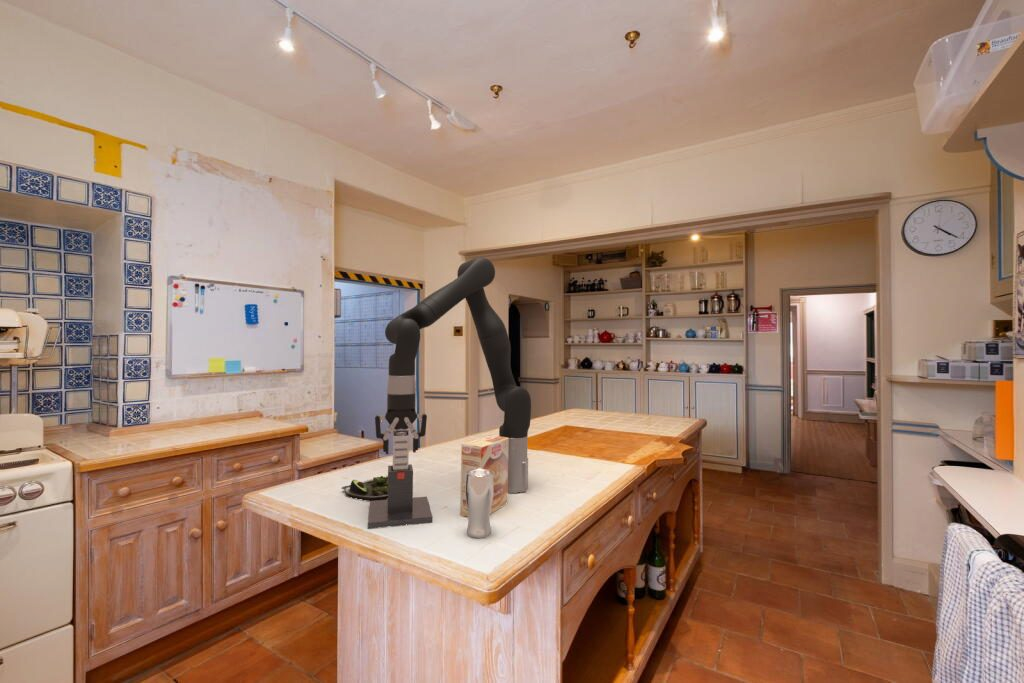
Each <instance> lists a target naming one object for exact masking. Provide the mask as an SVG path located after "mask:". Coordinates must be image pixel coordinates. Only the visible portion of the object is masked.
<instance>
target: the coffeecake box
mask: <svg viewBox="0 0 1024 683" xmlns="http://www.w3.org/2000/svg"><path fill="white" fill-rule="evenodd" d="M508 448H509V438H507V437H501V436H498V435H492V434H489V435H487V436H483V437H479V438H477V439H474V440H471V441H467V442H464V443H461V455H460V456H461V457H460V460H461V462H460V466H461V468H460V504H459V505H460V508H459V510H460V511H459V514H460V516H464V517H467V518H468V510H467V503H466V495H465V486H466V475H467V471H469V470H472V469H488V470H491V471H493V483H494V492H493V501H492V507H491V512H490V515H492V514H493V513H495V512H496V511H497V509H498V510H499V509H501V508H502V507H501V506H503V505H504V506H506V505H507V504H508V499H509V498H508V494H509V493H508ZM506 503H507V504H506ZM505 504H506V505H505ZM504 506H503V507H504ZM500 507H501V508H500ZM492 512H493V513H492Z"/></svg>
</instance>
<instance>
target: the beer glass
mask: <svg viewBox="0 0 1024 683" xmlns="http://www.w3.org/2000/svg"><path fill="white" fill-rule="evenodd" d="M493 492H494V483H493V471H491V470H488V469H472V470H469V471H467V475H466V486H465V495H466V503H467V510H468V517H467V518H468V520H467V528H466V535H467V536H468V537H470V538H473V539H485V538H488V537H489V536H491V534H492V527H491V522H490V521H491V514H490V512H491V507H492V501H493Z"/></svg>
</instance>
